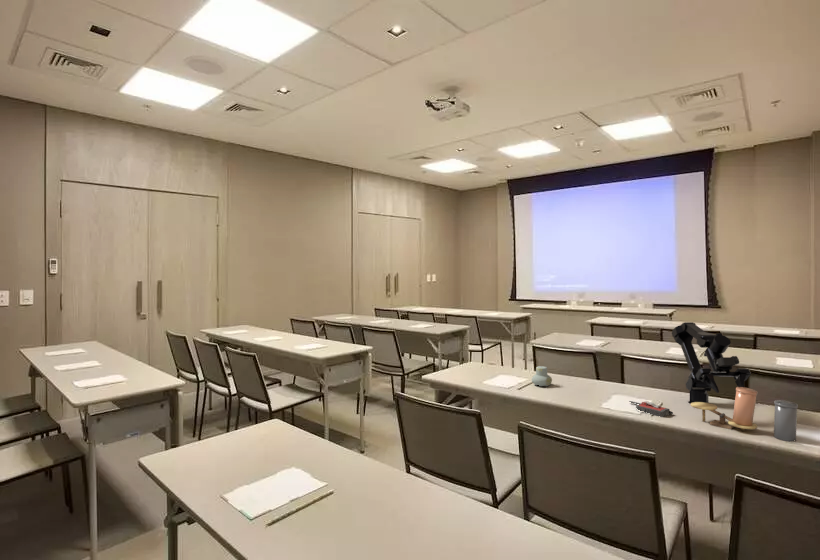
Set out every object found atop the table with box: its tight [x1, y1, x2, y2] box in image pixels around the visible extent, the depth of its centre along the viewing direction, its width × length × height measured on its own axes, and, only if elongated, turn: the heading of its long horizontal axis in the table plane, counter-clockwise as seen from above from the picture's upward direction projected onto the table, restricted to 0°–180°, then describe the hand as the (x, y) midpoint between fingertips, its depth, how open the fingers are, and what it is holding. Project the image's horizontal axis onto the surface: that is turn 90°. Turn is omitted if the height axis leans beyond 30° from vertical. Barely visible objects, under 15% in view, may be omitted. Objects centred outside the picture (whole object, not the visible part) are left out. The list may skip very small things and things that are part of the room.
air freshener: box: [531, 365, 553, 387], centre depth 243 cm, size 11×8×10 cm
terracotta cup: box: [732, 386, 758, 426], centre depth 170 cm, size 7×7×13 cm
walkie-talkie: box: [628, 400, 674, 418], centre depth 197 cm, size 9×4×20 cm
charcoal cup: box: [773, 399, 799, 442], centre depth 162 cm, size 7×7×13 cm
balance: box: [690, 402, 758, 431], centre depth 176 cm, size 22×9×7 cm, turn 39°
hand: (730, 392), depth 179 cm, fingers open, 9 cm apart
